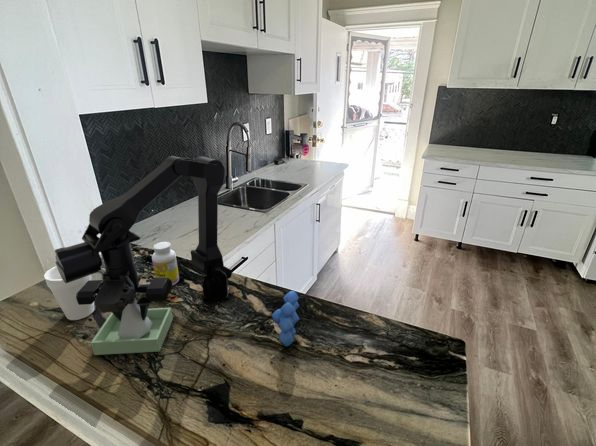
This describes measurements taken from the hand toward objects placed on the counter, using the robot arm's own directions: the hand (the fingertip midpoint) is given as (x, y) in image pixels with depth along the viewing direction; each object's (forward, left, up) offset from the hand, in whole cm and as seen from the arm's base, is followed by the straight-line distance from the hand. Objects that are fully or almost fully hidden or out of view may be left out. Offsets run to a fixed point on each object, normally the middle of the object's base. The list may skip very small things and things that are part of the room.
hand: (133, 320), depth 74 cm
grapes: (-36, +3, -5) cm, 36 cm away
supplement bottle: (-1, -23, -5) cm, 23 cm away
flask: (0, 0, -3) cm, 3 cm away
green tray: (0, 0, -5) cm, 5 cm away
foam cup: (+18, -10, -5) cm, 21 cm away
